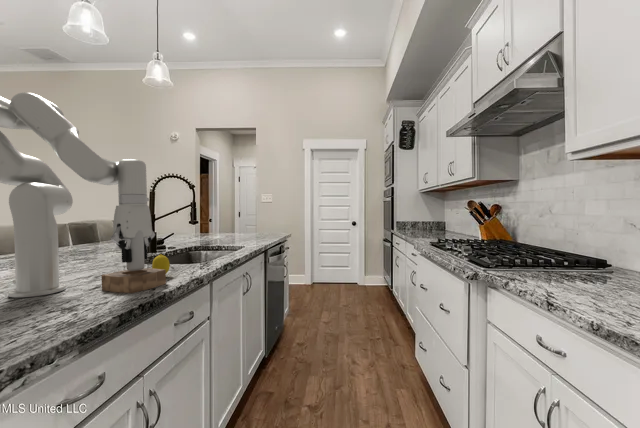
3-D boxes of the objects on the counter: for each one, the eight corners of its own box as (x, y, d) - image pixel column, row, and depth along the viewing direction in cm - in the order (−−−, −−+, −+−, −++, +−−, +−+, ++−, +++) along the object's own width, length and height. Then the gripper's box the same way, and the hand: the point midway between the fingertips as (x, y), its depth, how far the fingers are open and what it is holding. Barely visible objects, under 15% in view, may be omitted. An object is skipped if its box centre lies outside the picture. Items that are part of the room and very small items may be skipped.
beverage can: (136, 271, 96) (135, 230, 96) (122, 271, 97) (121, 231, 97) (148, 268, 101) (147, 229, 100) (134, 268, 102) (133, 229, 101)
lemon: (173, 275, 115) (172, 253, 115) (162, 279, 110) (162, 255, 110) (159, 275, 117) (159, 253, 117) (148, 278, 111) (148, 255, 111)
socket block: (98, 290, 95) (98, 275, 95) (137, 281, 107) (137, 267, 107) (132, 293, 91) (132, 277, 90) (168, 283, 103) (168, 269, 103)
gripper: (146, 201, 108) (148, 256, 108) (96, 200, 92) (99, 265, 92) (164, 201, 105) (166, 257, 106) (116, 200, 89) (118, 266, 90)
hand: (135, 260), depth 99 cm, fingers closed on beverage can, 4 cm apart
